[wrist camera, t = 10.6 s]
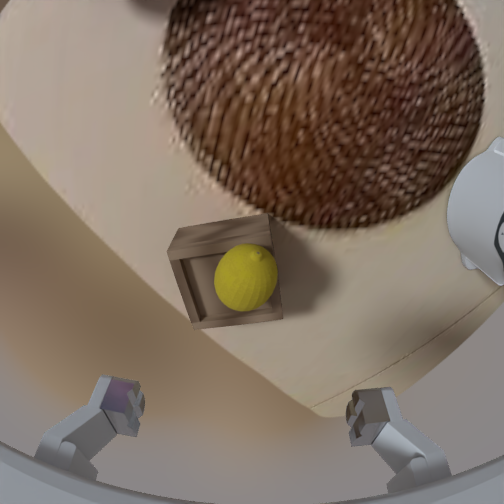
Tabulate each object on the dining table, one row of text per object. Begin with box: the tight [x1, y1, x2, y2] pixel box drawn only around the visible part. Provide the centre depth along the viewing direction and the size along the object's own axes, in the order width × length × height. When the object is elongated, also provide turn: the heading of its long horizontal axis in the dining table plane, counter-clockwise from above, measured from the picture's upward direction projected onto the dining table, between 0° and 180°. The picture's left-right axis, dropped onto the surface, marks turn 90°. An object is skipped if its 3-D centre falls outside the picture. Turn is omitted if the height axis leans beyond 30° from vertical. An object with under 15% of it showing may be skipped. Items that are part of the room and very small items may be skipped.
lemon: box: [214, 243, 278, 311], centre depth 29 cm, size 6×6×8 cm
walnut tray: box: [167, 213, 283, 329], centre depth 34 cm, size 10×10×6 cm
